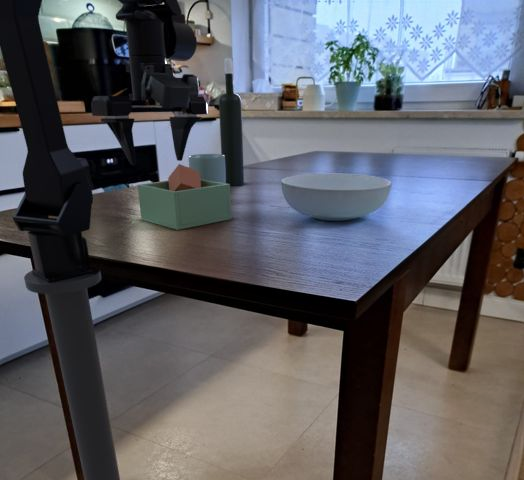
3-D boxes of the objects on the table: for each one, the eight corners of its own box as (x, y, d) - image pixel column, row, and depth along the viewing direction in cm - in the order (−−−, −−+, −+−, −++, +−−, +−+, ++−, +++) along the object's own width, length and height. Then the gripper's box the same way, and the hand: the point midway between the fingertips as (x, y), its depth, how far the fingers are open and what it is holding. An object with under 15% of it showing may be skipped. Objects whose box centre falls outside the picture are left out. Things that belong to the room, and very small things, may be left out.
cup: (213, 198, 122) (211, 153, 117) (233, 202, 116) (231, 155, 112) (185, 202, 117) (181, 155, 113) (204, 207, 112) (201, 158, 107)
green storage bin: (177, 230, 93) (174, 192, 90) (141, 219, 101) (137, 184, 99) (231, 219, 101) (230, 184, 98) (193, 210, 109) (191, 177, 106)
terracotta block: (180, 182, 97) (179, 163, 99) (169, 196, 100) (168, 177, 102) (201, 190, 100) (199, 171, 101) (190, 203, 103) (188, 184, 105)
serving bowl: (346, 234, 88) (349, 192, 85) (259, 217, 101) (258, 181, 98) (408, 215, 102) (412, 178, 99) (324, 202, 115) (325, 169, 112)
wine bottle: (240, 186, 138) (236, 57, 124) (220, 185, 139) (213, 57, 126) (246, 182, 143) (242, 58, 129) (226, 182, 144) (220, 59, 131)
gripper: (118, 49, 70) (132, 170, 77) (226, 56, 81) (229, 161, 88) (82, 55, 77) (97, 165, 84) (185, 61, 89) (191, 157, 95)
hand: (156, 162), depth 88 cm, fingers open, 9 cm apart
